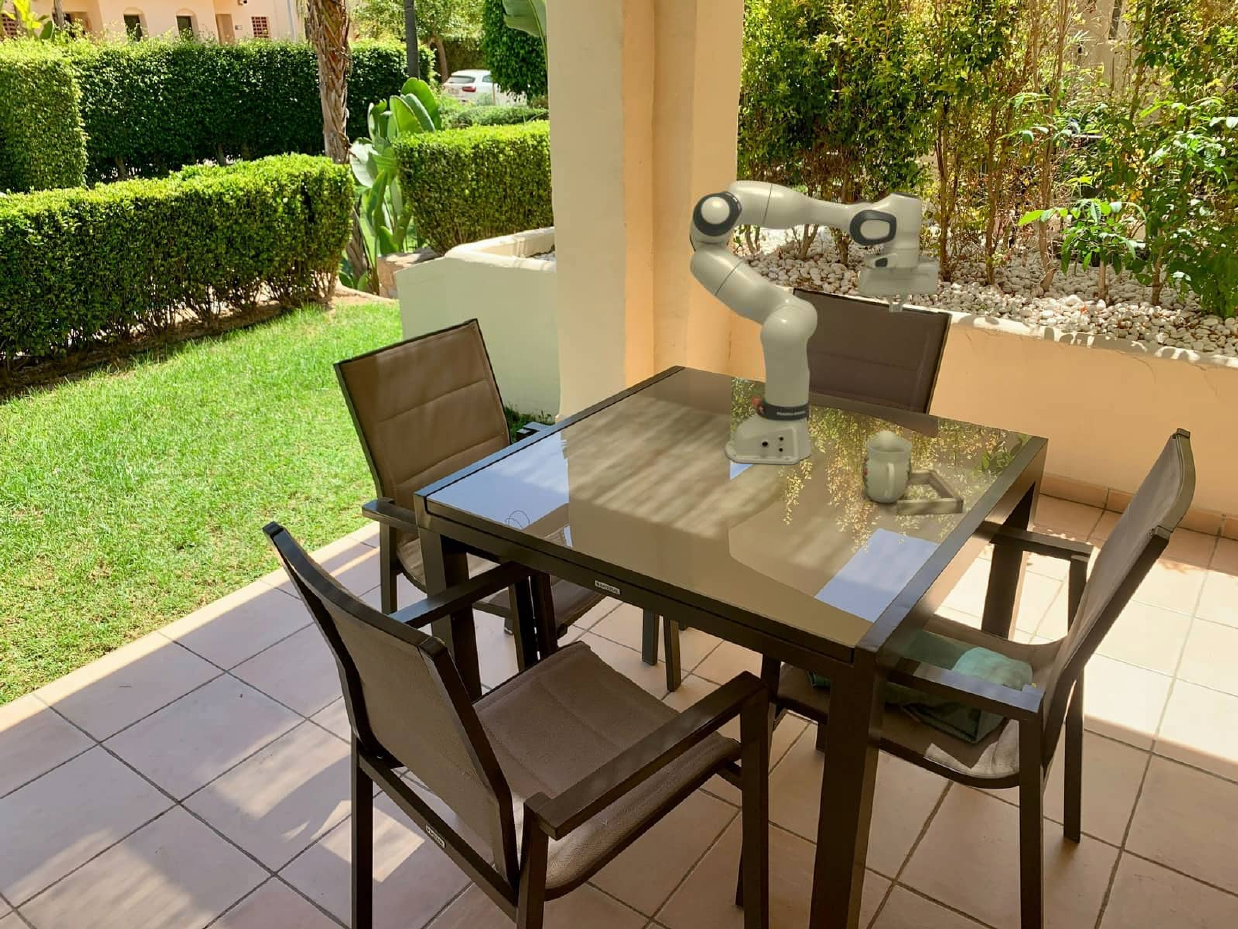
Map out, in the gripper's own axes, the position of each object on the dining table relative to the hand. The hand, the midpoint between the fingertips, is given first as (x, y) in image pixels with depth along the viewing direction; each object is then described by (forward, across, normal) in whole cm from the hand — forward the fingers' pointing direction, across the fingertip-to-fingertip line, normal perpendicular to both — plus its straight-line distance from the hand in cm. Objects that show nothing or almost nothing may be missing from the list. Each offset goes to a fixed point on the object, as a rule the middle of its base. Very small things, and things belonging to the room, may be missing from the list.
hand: (895, 311), depth 242 cm
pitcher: (+34, +13, +42) cm, 56 cm away
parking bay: (+34, +6, +42) cm, 54 cm away
